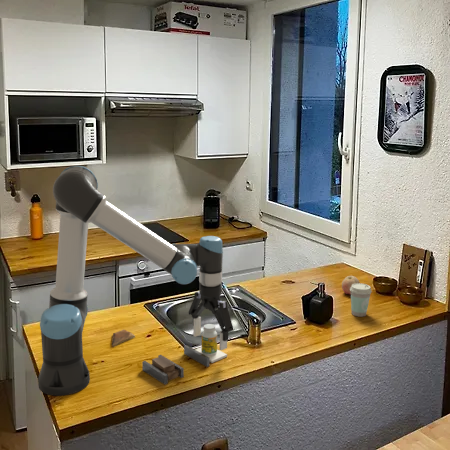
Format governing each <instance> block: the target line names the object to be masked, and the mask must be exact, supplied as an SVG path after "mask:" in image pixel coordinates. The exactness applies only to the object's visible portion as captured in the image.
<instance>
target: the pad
mask: <svg viewBox="0 0 450 450" xmlns="http://www.w3.org/2000/svg"><path fill="white" fill-rule="evenodd" d="M194 350H196V351H198V352H200V353H202V346H200V347H198V348H196V349H194ZM202 354H203V353H202ZM204 355H205V354H204ZM205 356H207V357H209V358H210V359H209V363H211V364H213V363H215V362H219V361H221V360H222V359H224V358H226V357H227V358H228V354H227V353H225V352H224V351H222V350H220V349H218V348H217V353H216V354H214V355H205Z"/></svg>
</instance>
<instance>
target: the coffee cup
mask: <svg viewBox="0 0 450 450" xmlns="http://www.w3.org/2000/svg"><path fill="white" fill-rule="evenodd" d="M350 291H351V295H350V305H351V308H350V310H351V315H353V316H355V317H363V318H364V317H366V316H367V312H368V308H369V303H370V302H369V301H370V298H371V293H373V291H372V288H371V286H370V285H368V284H366V283H356V284H353V285H352V286H351V288H350Z"/></svg>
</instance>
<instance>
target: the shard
mask: <svg viewBox="0 0 450 450" xmlns="http://www.w3.org/2000/svg"><path fill="white" fill-rule="evenodd" d="M134 338H136V335H135V334H133V333H132V332H130V331H128V330H126V329H122V330H119V331H116V332H113V333H112V338H111V346H112V347H113V348H114V347H117V346H119V345H120V344H123V343H124V342H126V341H129V340H131V339H134Z"/></svg>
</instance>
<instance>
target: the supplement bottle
mask: <svg viewBox="0 0 450 450" xmlns="http://www.w3.org/2000/svg"><path fill="white" fill-rule="evenodd" d="M201 347H202V353H203V354H205V355H214V354H216V353H217V349H218V332H217V331H216V325H215V324H212V323H206V324H204V325H203V329H202V331H201Z"/></svg>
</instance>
